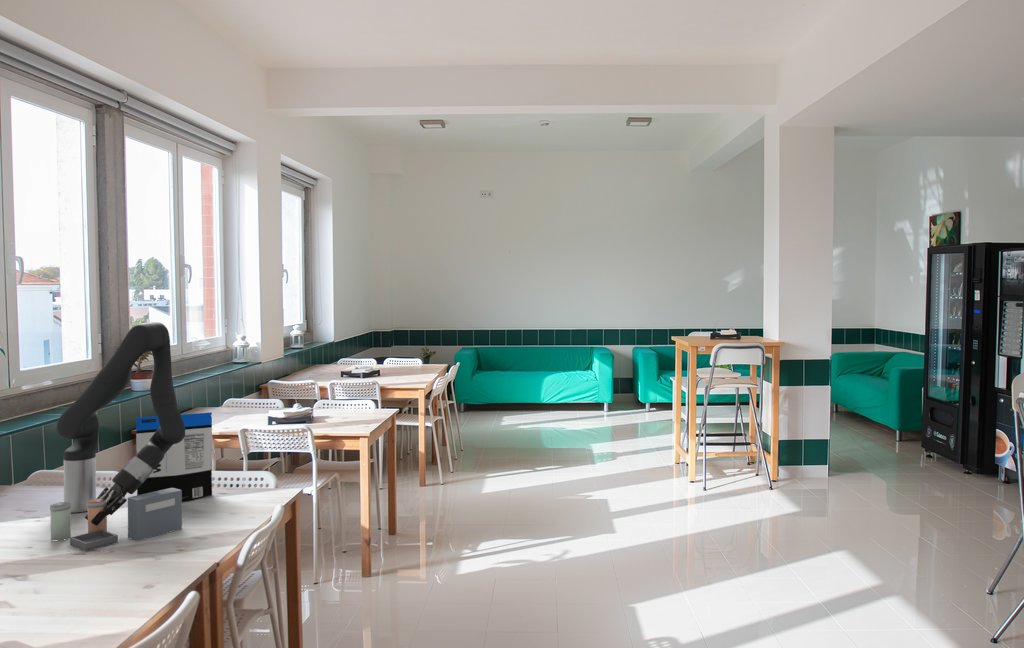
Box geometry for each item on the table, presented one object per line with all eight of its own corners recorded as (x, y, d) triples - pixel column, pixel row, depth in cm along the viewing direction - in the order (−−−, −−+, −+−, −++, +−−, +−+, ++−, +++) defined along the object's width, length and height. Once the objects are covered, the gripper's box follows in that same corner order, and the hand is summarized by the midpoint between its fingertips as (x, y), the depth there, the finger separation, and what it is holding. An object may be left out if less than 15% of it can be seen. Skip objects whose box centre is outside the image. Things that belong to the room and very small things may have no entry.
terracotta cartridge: (84, 534, 219) (83, 501, 218) (101, 530, 223) (101, 497, 223) (92, 538, 216) (92, 504, 216) (110, 533, 220) (110, 500, 220)
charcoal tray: (69, 545, 210) (69, 537, 210) (101, 536, 217) (101, 529, 217) (85, 551, 205) (85, 543, 205) (118, 542, 212) (118, 535, 212)
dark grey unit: (127, 537, 217) (127, 497, 216) (171, 525, 228) (171, 487, 228) (138, 541, 214) (137, 500, 213) (182, 528, 225) (182, 490, 225)
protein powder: (214, 498, 260) (214, 414, 259) (138, 508, 247) (137, 419, 246) (209, 492, 268) (209, 410, 267) (135, 501, 255) (134, 415, 254)
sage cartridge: (47, 538, 215) (46, 505, 215) (65, 534, 219) (65, 501, 219) (55, 542, 212) (55, 508, 212) (74, 537, 216) (74, 504, 216)
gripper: (115, 464, 229) (72, 510, 221) (132, 471, 219) (88, 520, 211) (133, 478, 233) (92, 523, 225) (151, 486, 223) (108, 534, 215)
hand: (90, 521), depth 218 cm, fingers closed on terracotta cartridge, 5 cm apart
